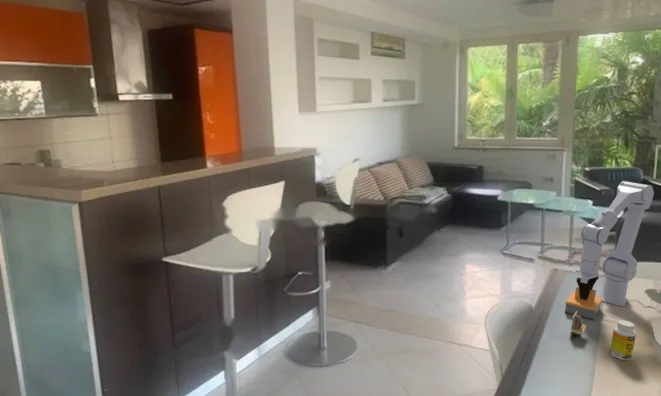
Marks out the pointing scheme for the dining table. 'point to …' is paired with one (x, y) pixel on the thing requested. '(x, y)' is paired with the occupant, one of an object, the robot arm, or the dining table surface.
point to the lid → (590, 303)
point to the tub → (582, 311)
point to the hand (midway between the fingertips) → (584, 297)
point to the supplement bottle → (623, 340)
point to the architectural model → (577, 325)
